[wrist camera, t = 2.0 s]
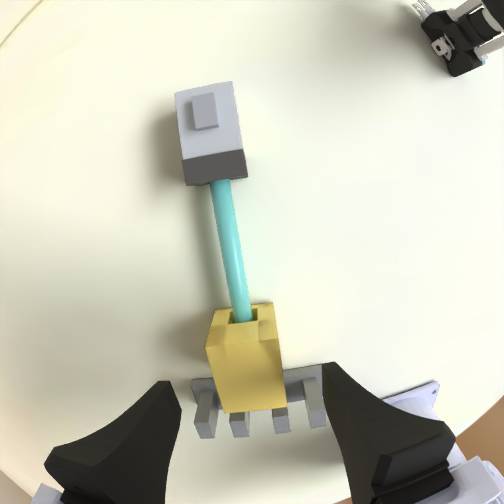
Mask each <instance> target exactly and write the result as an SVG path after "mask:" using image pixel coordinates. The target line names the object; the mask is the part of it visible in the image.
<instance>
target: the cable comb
mask: <svg viewBox="0 0 504 504" xmlns="http://www.w3.org/2000/svg"><path fill="white" fill-rule="evenodd" d="M283 377H284V385H285V393H286V400H287V403H288V402H295V401H301V400H305V404H306V408H307V413H308V418H309V422H310V427H311V428H316V427H321V426H325V421H326V409H325V405H324V402H323V399H322V397H323V396H322V364H319V365H313V366H308V367H302V368H296V369H290V370H283ZM191 389H192V391H193V394H194V397H195V400H196V402H197V405H198V406H197V410H196V415H195V419H194V425H195V427H196V429H197V432H198V434H199V436H200V438H201V439H205V438H215V432H216V425H217V418H218V411H219V410H220V409H223V407H222V404H221V401H220V398H219V395H218V391H217V388H216V385H215V381H214V378H209V379H193V380H192V384H191ZM249 412H250V411H248V412H236V413H230V418H229V423H230V426H231V429H232V432H233V435H234V437H249ZM272 417H273V423H274V429H275V434H278V433H286V432H290V425H289V417H288V410H287V407H282V408H275V409H272Z"/></svg>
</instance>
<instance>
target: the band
mask: <svg viewBox="0 0 504 504" xmlns="http://www.w3.org/2000/svg"><path fill="white" fill-rule="evenodd" d="M182 162H183V169H184V175H185V181H186V186H199V185H204V184H210V182H212V181H217V180H223V179H230V180H233V179H239V178H245V177H248V172H247V166H246V160H245V154H244V151H243V149H238V150H232V151H226V152H221V153H215V154H210V155H205V156H200V157H195V158H190V159H185V160H182Z"/></svg>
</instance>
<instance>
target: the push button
mask: <svg viewBox="0 0 504 504" xmlns="http://www.w3.org/2000/svg"><path fill="white" fill-rule="evenodd" d="M418 1H419V3H420V4H421V5H422V6H423V7H424V8H425V9H426V12H427V13H428V14H427V13H426V12H425V11H424V10H423V9H422V7H421V6H420V5H419V4H418V3H416V4H412V6H413V7H414V8H415V9H416V10H417V12H418V13H419V14H420V17H421V18H422V19H423V20H424V22H423V23H422V24H421V27H422V28H423V30H424V31H425V32H426V34H427V35H428V36H429V38H430V39H431V40H432V42H433V43H432V44H431V45H432V48H433V49H434V50H435V52H436V53H437V55H439V56H441V55H442V56H443V57H444V59H445V60H446V62H447V63H448V70H449V72H450V73H451V75H452V76H453V77H457V76H459V75H462V74H464V73H466V72H468V71H471V70H473V69H475V68H477V67H479V66H482V65H484V64H485V59H487V58H488V57H487V54H489V53H491V52H493V51H495V50H498V49H500V48H503V47H504V36H501V37H499V38H497V39H495V40H493V41H491V42H489V43H487V44H485V45H483V46H480V45H482V44H484V43H485V42H487V41H489V40H491V39H493V37H494V36H497V35H499V34H501V31H502V32H504V0H468V1H466V2H465V3H463V4H462V5H461V6H459V7H458V8H457V9H449V10H443V11H438V12H436V11H435V10H434V9H432V8H431V7H430V5H429V4H428V3H427V2H426V1H425V0H418ZM422 2H424V3H425V4H426V5H427V6H426V5H424V4H423V3H422ZM482 5H483V6H484V8H480V9H479V10H477V11H476V12H474V13H472V14H469V13H471V12H472V11H474V10H475V9H477V8H478V7H480V6H482ZM417 7H419V8H420V9H421V11H420V10H418V9H417ZM479 46H480V47H479ZM436 47H437V48H436ZM437 49H438V50H437Z"/></svg>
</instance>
